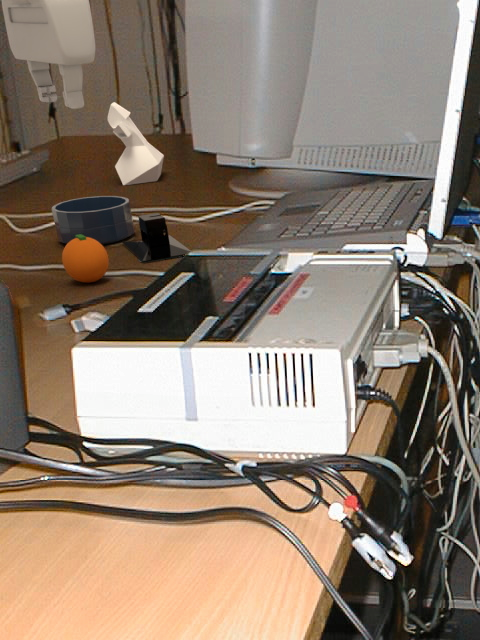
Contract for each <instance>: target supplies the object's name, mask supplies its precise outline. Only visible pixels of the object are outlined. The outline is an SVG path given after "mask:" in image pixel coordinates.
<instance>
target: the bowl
mask: <svg viewBox="0 0 480 640" xmlns="http://www.w3.org/2000/svg"><path fill="white" fill-rule="evenodd" d="M51 214H52V219H53V221H54V227H55V232H56V235H57V239H58V240H57V241H59V242H61V243H63V244H66V245H67V244H68V243H69V242H70V241H71V240H73V239H75V238H76V237H75V235H79V234H82V235H84V236H86V237H89V238H92V239H95V240H96V241H98V242H99V243H100V244H101V245H102V246H104V245H110V244H114V243H118V242H121V241H123V240H125V239H127V238H128V237H130V236H132V235H134V234H135V224H134V220H133V213H132V208H131V203H130V199H129V198H127V197H125V196H117V195H98V196H97V195H96V196H85V197H78V198H73V199H69V200H64V201H61V202H58V203H56V204H54V205H52V207H51Z"/></svg>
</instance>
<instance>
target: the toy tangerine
mask: <svg viewBox="0 0 480 640" xmlns="http://www.w3.org/2000/svg"><path fill="white" fill-rule="evenodd" d="M75 237H76V238H75V239H73V240H71V241H70V242H69V243H68V244H67V243H66V245H65V247H64V248H63V250H62V254H61V261H62V266H63V267H64V268H63V269H64V270H65V272H66V273H67V274H68V276H70V277H71V278H72V279H73V280H75V281H77V282H79V283H80V282H81V283H85V284H89V283H95V282H97V281H99V280H100V279H102V278H103V277H104V276H105V274H106V273H107V271H108V269H109V268H108V267H109V265H110V263H109V261H110V260H109V255H108V251H107V249H106V248H105V247H104V245H101V244H100V243H99V242H98V241H96V240H95V239H92V238H89V237H86V236H84V235H82V234H79V235H75Z"/></svg>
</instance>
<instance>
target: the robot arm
mask: <svg viewBox="0 0 480 640" xmlns="http://www.w3.org/2000/svg"><path fill="white" fill-rule="evenodd" d="M1 7H2V13H3V18H4V23H5V28H6V33H7V39H8V43H9V48H10V50H11V53H12V55H13V57H14V59H16V60H22V61H26V64H27V67H28V71H29V73H30V75H31V78H32V80H33V83H34V84H35V87H36V90H37V94H38V99H39V101H41V102H42V103H46V104H49V103H50V104H51V103H56V102H57V101H58V98H59V97H58V93H57V89H56V85H54V84H53V79H52V77H51V74H50V69H51V68H50V64H53V65H57V66H58V70H59V74H60V76H61V77H62V85H63V91H61V93H62V98H63V100H64V101H63V102H64V105H65V107H67V108H68V109H71V110H77V109H83V108H84V107H85V99H84V94H83V81H84V72H83V67H82V65H85V64H86V65H87V64H93V63H94V62H95V57H96V49H97V47H96V39H95V31H94V30H95V29H94V24H93V17H92V10H91V3H90V0H1Z"/></svg>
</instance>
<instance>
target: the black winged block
mask: <svg viewBox="0 0 480 640" xmlns="http://www.w3.org/2000/svg"><path fill="white" fill-rule="evenodd" d="M137 217H138V225H139V231H140V236H141V238H139V239H134V240H128V241H126V240H125V241H122V245H123V246H124V247H125V248H126V249H127V250H128V251H129V252H130V253H132V254H133V256H135V257H136V259H137V261H138V262H139V263H141V264H147V263H154V262H160V261H165V259H166V260H172V259H177V257H178V258H183V257H182V256H183V255H185V254H186V253H187V252H189V251H191V249H189V248H188V247H186V246H185V245H183V243H181V242H180V241H178V240H177V239H175V238H174V236H172V235H170V234H169V231H168V225H167V222H166V217H164V216H163V215H161V214H160V213H159V212H155V213H148V214H142V215H138V216H137ZM179 256H180V257H179ZM171 258H172V259H171ZM159 260H160V261H159Z"/></svg>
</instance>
